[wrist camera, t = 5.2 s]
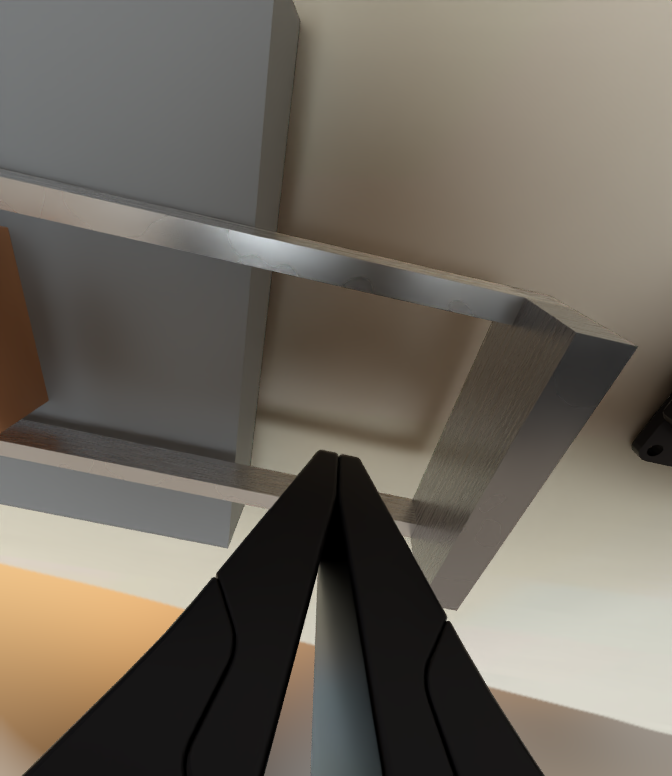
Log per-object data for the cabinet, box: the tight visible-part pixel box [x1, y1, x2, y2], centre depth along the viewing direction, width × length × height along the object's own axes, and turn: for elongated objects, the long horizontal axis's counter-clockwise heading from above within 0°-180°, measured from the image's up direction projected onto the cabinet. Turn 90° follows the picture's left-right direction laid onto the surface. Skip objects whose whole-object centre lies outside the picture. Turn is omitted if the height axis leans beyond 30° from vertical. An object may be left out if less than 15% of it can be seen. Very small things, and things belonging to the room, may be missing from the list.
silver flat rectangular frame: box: [0, 169, 638, 611], centre depth 8 cm, size 18×8×3 cm, turn 78°
